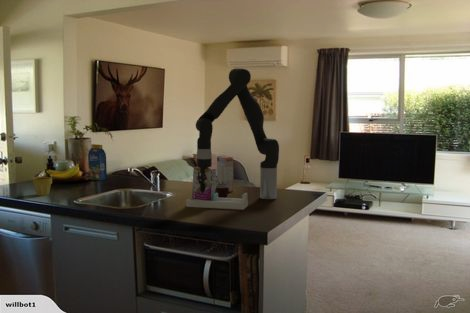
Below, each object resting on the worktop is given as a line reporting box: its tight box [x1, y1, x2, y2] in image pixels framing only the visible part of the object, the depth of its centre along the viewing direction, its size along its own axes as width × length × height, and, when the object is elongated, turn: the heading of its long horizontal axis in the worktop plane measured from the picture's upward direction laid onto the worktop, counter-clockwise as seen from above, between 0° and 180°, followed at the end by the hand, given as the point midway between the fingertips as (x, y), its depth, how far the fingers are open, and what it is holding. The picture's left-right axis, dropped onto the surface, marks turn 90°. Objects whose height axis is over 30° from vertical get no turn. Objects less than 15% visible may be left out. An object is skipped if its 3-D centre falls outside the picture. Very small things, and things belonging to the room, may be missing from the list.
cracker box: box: [216, 155, 234, 193], centre depth 274 cm, size 14×6×21 cm, turn 22°
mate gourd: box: [215, 175, 230, 198], centre depth 248 cm, size 8×8×15 cm
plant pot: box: [32, 176, 53, 197], centre depth 261 cm, size 10×10×10 cm
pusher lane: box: [185, 192, 249, 211], centre depth 229 cm, size 9×30×7 cm, turn 76°
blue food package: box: [87, 143, 108, 182], centre depth 316 cm, size 6×12×25 cm, turn 56°
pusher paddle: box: [213, 192, 233, 201], centre depth 228 cm, size 7×9×5 cm
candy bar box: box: [191, 166, 217, 201], centre depth 230 cm, size 11×5×16 cm, turn 64°
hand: (204, 190), depth 230 cm, fingers closed on candy bar box, 5 cm apart
